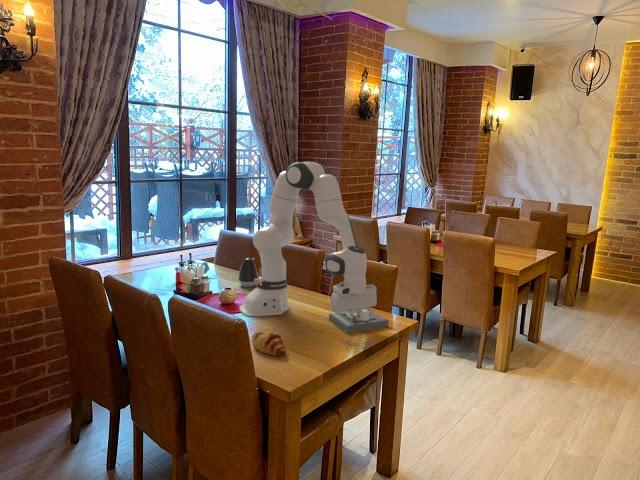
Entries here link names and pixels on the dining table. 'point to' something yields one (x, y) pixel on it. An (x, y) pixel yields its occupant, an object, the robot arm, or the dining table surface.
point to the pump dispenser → (248, 273)
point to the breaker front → (364, 315)
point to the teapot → (196, 263)
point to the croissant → (268, 343)
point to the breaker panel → (358, 321)
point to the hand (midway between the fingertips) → (353, 318)
